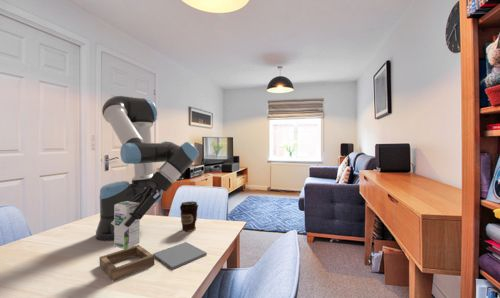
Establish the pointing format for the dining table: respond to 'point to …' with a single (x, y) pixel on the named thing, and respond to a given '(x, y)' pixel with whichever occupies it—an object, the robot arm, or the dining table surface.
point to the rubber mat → (179, 255)
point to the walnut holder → (128, 268)
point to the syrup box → (132, 232)
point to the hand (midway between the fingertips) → (115, 229)
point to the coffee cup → (188, 215)
